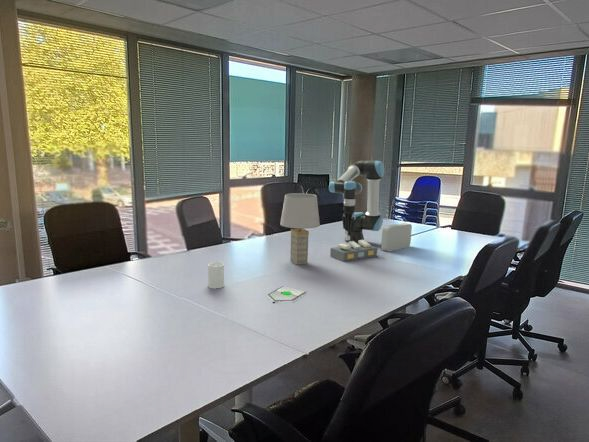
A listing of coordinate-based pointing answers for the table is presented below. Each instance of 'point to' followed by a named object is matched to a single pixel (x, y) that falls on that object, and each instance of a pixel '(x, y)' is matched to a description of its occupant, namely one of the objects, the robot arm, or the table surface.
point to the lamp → (300, 223)
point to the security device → (285, 294)
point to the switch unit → (353, 253)
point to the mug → (215, 275)
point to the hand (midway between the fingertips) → (347, 239)
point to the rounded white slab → (396, 237)
